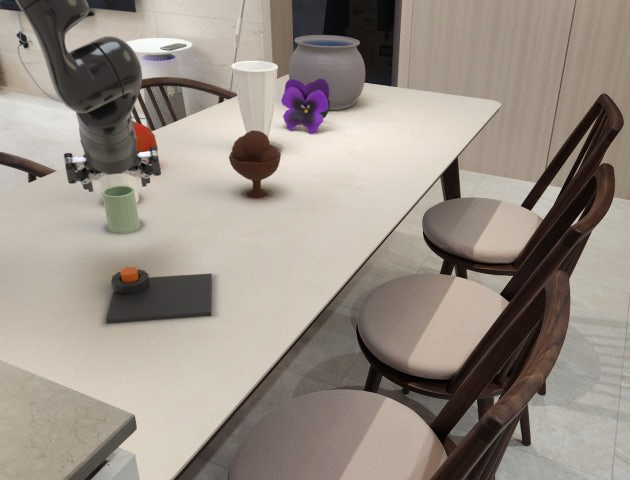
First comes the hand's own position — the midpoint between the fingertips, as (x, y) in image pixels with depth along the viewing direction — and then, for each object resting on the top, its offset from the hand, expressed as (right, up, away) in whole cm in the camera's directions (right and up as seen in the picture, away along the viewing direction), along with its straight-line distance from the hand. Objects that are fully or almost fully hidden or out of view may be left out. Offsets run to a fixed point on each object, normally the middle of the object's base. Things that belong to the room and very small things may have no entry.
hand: (117, 184), depth 108 cm
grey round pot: (+29, +43, +102) cm, 114 cm away
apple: (-12, +10, +42) cm, 45 cm away
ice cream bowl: (+18, +2, +31) cm, 36 cm away
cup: (+14, +18, +57) cm, 62 cm away
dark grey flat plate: (+11, -20, -8) cm, 24 cm away
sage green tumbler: (-4, -7, +14) cm, 16 cm away
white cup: (-9, 0, +24) cm, 26 cm away
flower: (+25, +29, +78) cm, 87 cm away
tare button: (+5, -16, -7) cm, 19 cm away
